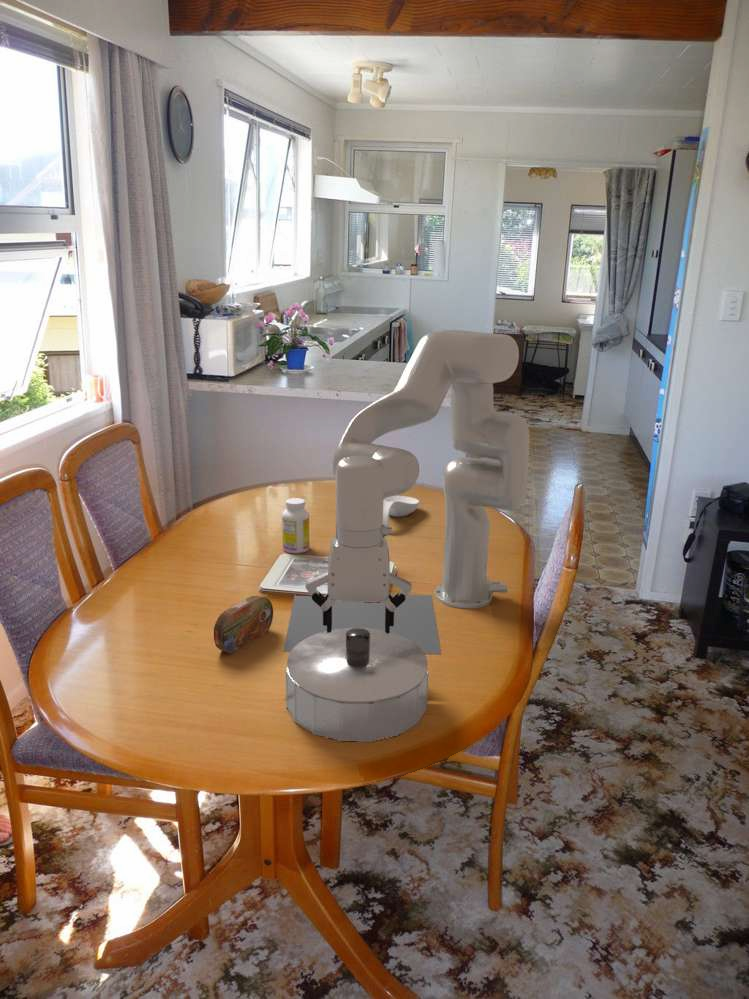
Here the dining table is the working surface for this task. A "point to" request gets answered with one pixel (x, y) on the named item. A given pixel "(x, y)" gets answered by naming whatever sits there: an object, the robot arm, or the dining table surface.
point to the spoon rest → (398, 507)
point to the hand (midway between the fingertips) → (358, 629)
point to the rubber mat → (367, 620)
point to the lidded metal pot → (356, 684)
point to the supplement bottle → (295, 526)
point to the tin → (243, 623)
